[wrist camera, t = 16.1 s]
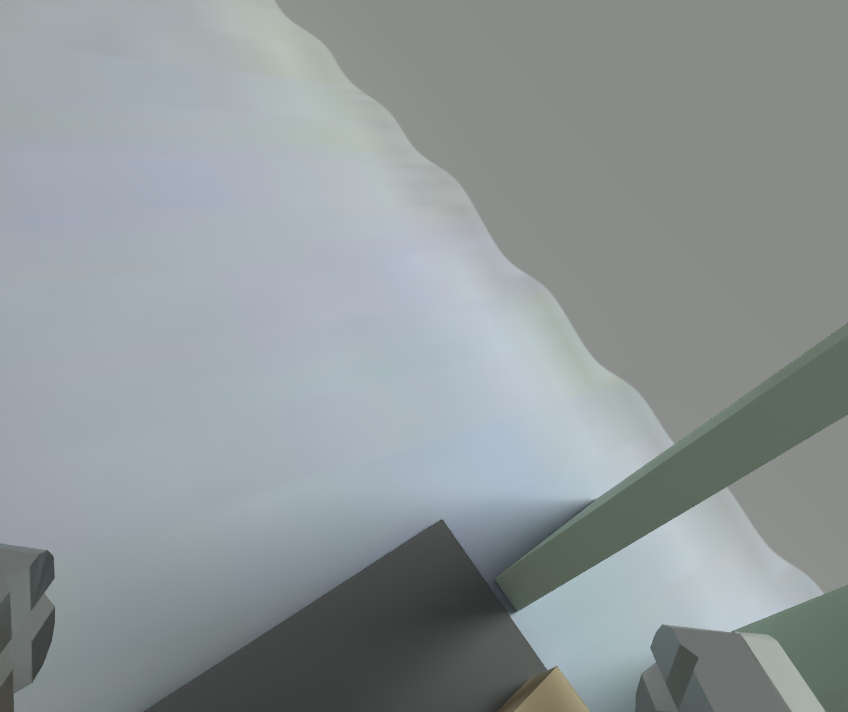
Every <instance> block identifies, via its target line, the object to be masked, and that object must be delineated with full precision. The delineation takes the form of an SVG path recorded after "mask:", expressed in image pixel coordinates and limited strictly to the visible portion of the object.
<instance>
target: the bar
mask: <svg viewBox="0 0 848 712" xmlns="http://www.w3.org/2000/svg"><path fill="white" fill-rule="evenodd" d="M497 712H590V711H589V709H588V708H587V706H586V705H585V704H584V702H583V701H582V700H581V698H580V697H579V695H578V694H577V693H576V691H575V690H574V688H573V687H572V686H571V684H570V683H569V682H568V680H567V679H566V677H565V676H564V675H563V673H562V672H561V671H560V669H559V668H558V666H557V667H554V668H552V669H550V670H548V671H546V672H544V673H541V674H539V675H537V676H535V677H533V678H530V679H528V680H527V681H526V682H525V683H524V684H523V685H522V686H521V688H520V689H519V690H518V691H517V692H516V693H515V694H514V695H513V696H512V697H511V698H510V699H509V700H508V701H507V702H506V703H505V704H504V705H503V706H502V707H501V708H500V709H499V710H498V711H497Z"/></svg>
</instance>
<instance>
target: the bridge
mask: <svg viewBox="0 0 848 712" xmlns="http://www.w3.org/2000/svg"><path fill="white" fill-rule="evenodd" d="M846 415H848V323H847V324H845V325H844V326H843V327H841V328H840V329H838V330H837V331H836V332H834V333H832V334H831V335H830V336H828V337H827V338H825V339H824V340H822V341H821V342H820V343H818V344H817V345H815V346H814V347H813V348H811V349H810V350H808V351H807V352H806V353H804V354H802V355H801V356H800V357H798V358H797V359H796V360H794V361H793V362H791V363H790V364H788V365H787V366H785V367H784V368H783V369H781V370H780V371H778V372H777V373H775V374H774V375H773V376H771V377H770V378H768V379H767V380H765V381H764V382H763V383H761V384H760V385H758V386H757V387H756V388H754V389H753V390H751V391H750V392H749V393H747V394H746V395H744V396H743V397H741V398H740V399H738V400H737V401H736V402H734V403H733V404H731V405H730V406H729V407H727V408H726V409H724V410H723V411H722V412H720V413H719V414H717V415H716V416H714V417H713V418H711V419H710V420H709V421H707V422H706V423H704V424H703V425H701V426H700V427H699V428H697V429H696V430H694V431H693V432H692V433H690V434H689V435H687V436H686V437H684V438H683V439H682V440H680V441H679V442H677V443H676V444H674V445H673V446H672V447H670V448H669V449H667V450H666V451H664V452H663V453H662V454H660V455H659V456H657V457H656V458H654V459H653V460H652V461H650V462H649V463H647V464H646V465H644V466H643V467H642V468H640V469H639V470H637V471H636V472H635V473H633V474H632V475H630V476H629V477H627V478H626V479H625V480H623V481H622V482H620V483H619V484H617V485H616V486H615V487H613V488H612V489H610V490H609V491H607V492H606V493H605V494H603V495H602V496H600V497H599V498H597V499H596V500H595V501H594V502H592V503H591V504H590V505H588V506H587V507H586V508H585V509H583V510H582V511H581V512H579V513H578V514H577V515H576V516H574V517H573V518H572V519H570V520H569V521H568V522H567V523H565V524H564V525H563V526H561V527H560V528H559V529H558V530H556V531H555V532H554V533H552V534H551V535H550V536H549V537H547V538H546V539H545V540H543V541H542V542H541V543H540V544H538V545H537V546H536V547H534V548H533V549H532V550H531V551H529V552H528V553H527V554H525V555H524V556H523V557H522V558H520V559H519V560H518V561H516V562H515V563H514V564H513V565H511V566H510V567H509V568H507V569H506V570H505V571H504V572H502V573H501V574H500V575H498V576H497V577H496V578H495V581H496V582H497V584H498V585H499V586H500V588H501V589H502V591H503V592H504V594H505V595H506V596H507V598H508V599H509V601H510V602H511V604H512V605H513V606H514V608H515V609H516V611H517V612H518V611H519V610H521V609H523V608H524V607H526V606H528V605H529V604H531V603H533V602H534V601H536V600H538V599H539V598H541V597H543V596H544V595H546V594H548V593H549V592H551V591H553V590H555V589H556V588H558V587H560V586H561V585H563V584H565V583H566V582H568V581H570V580H571V579H573V578H575V577H576V576H578V575H580V574H581V573H583V572H585V571H586V570H588V569H590V568H591V567H593V566H595V565H596V564H598V563H600V562H601V561H603V560H605V559H606V558H608V557H610V556H611V555H613V554H615V553H617V552H618V551H620V550H622V549H623V548H625V547H627V546H628V545H630V544H632V543H633V542H635V541H637V540H638V539H640V538H642V537H643V536H645V535H647V534H648V533H650V532H652V531H653V530H655V529H657V528H658V527H660V526H662V525H663V524H665V523H667V522H668V521H670V520H672V519H673V518H675V517H677V516H679V515H680V514H682V513H684V512H685V511H687V510H689V509H690V508H692V507H694V506H695V505H697V504H699V503H700V502H702V501H704V500H705V499H707V498H709V497H710V496H712V495H714V494H715V493H717V492H719V491H720V490H722V489H724V488H725V487H727V486H729V485H730V484H732V483H734V482H736V481H737V480H739V479H741V478H742V477H744V476H745V475H747V474H749V473H750V472H752V471H754V470H755V469H757V468H759V467H761V466H762V465H764V464H766V463H767V462H769V461H771V460H772V459H774V458H776V457H777V456H779V455H780V454H782V453H784V452H786V451H787V450H789V449H791V448H792V447H794V446H796V445H797V444H799V443H801V442H802V441H804V440H806V439H808V438H809V437H811V436H812V435H814V434H816V433H818V432H819V431H821V430H822V429H824V428H826V427H828V426H829V425H831V424H833V423H834V422H836V421H838V420H839V419H841V418H843V417H844V416H846ZM732 632H744V633H755V634H766V635H769V636H771V637H772V638H774V639H775V640H777V641H778V643H779V644H780V646H781V647H782V649H783V650H784V651H785V653H786V654H787V656H788V657H789V659H790V660H791V662H792V663H793V665H794V666H795V668H796V669H797V670H798V672H799V673H800V675H801V676H802V678H803V679H804V681H805V682H806V684H807V685H808V687H809V688H810V690H811V691H812V692H813V694H814V695H815V697H816V698H817V700H818V701H819V703H820V704H821V706H822V707H823V709H824V710H825V711H826V712H848V585H847V586H844V587H841V588H839V589H837V590H834V591H831V592H829V593H826V594H824V595H821V596H819V597H816V598H814V599H811V600H809V601H806V602H804V603H801V604H799V605H796V606H794V607H791V608H789V609H786V610H784V611H781V612H779V613H777V614H774V615H772V616H769V617H767V618H764V619H762V620H759V621H757V622H754V623H752V624H749V625H747V626H744V627H742V628H739V629H737V630H734V631H732ZM730 633H731V632H730Z"/></svg>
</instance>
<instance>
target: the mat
mask: <svg viewBox="0 0 848 712" xmlns="http://www.w3.org/2000/svg"><path fill="white" fill-rule="evenodd" d="M546 671H547V669H546V668H545V666H544V665H543V663H542V662H541V660H540V659H539V658H538V656H537V655H536V653H535V652H534V650H533V649H532V648H531V646H530V645H529V643H528V642H527V640H526V639H525V637H524V636H523V635H522V633H521V632H520V630H519V629H518V627H517V626H516V625H515V623H514V622H513V620H512V619H511V617H510V616H509V614H508V613H507V612H506V610H505V609H504V607H503V606H502V604H501V603H500V602H499V600H498V599H497V597H496V596H495V594H494V593H493V591H492V590H491V589H490V587H489V586H488V584H487V583H486V581H485V580H484V579H483V577H482V576H481V574H480V573H479V571H478V570H477V568H476V567H475V566H474V564H473V563H472V561H471V560H470V558H469V557H468V556H467V554H466V553H465V551H464V550H463V548H462V547H461V545H460V544H459V543H458V541H457V540H456V538H455V537H454V535H453V534H452V532H451V531H450V530H449V528H448V527H447V525H446V524H445V522H444V521H443V520H440V521H439V522H437V523H435V524H434V525H432V526H431V527H429V528H428V529H426V530H425V531H423V532H422V533H420V534H418V535H417V536H415V537H414V538H412V539H411V540H409V541H408V542H406V543H404V544H403V545H401V546H400V547H398V548H397V549H395V550H394V551H392V552H391V553H389V554H387V555H386V556H384V557H383V558H381V559H380V560H378V561H377V562H375V563H374V564H372V565H370V566H369V567H367V568H366V569H364V570H363V571H361V572H360V573H358V574H356V575H355V576H353V577H352V578H350V579H349V580H347V581H346V582H344V583H343V584H341V585H339V586H338V587H336V588H335V589H333V590H332V591H330V592H329V593H327V594H326V595H324V596H322V597H321V598H319V599H318V600H316V601H315V602H313V603H312V604H310V605H308V606H307V607H305V608H304V609H302V610H301V611H299V612H298V613H296V614H295V615H293V616H291V617H290V618H288V619H287V620H285V621H284V622H282V623H281V624H279V625H278V626H276V627H274V628H273V629H271V630H270V631H268V632H267V633H265V634H264V635H262V636H260V637H259V638H257V639H256V640H254V641H253V642H251V643H250V644H248V645H247V646H245V647H243V648H242V649H240V650H239V651H237V652H236V653H234V654H233V655H231V656H230V657H228V658H226V659H225V660H223V661H222V662H220V663H219V664H217V665H216V666H214V667H212V668H211V669H209V670H208V671H206V672H205V673H203V674H202V675H200V676H199V677H197V678H195V679H194V680H192V681H191V682H189V683H188V684H186V685H185V686H183V687H182V688H180V689H178V690H177V691H175V692H174V693H172V694H171V695H169V696H168V697H166V698H164V699H163V700H161V701H160V702H158V703H157V704H155V705H154V706H152V707H151V708H149V709H147V710H146V711H144V712H497V711H498V710H499V709H500V708H501V707H502V706H503V705H504V704H505V703H506V702H507V701H508V700H509V699H510V698H511V697H512V696H513V695H514V694H515V693H516V692H517V691H518V690H519V689H520V688H521V686H522V685H523V684H524V683H525V682H526V681H527V680H528V679H530V678H533V677H535V676H537V675H539V674H541V673H544V672H546Z"/></svg>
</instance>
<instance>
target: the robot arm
mask: <svg viewBox="0 0 848 712" xmlns="http://www.w3.org/2000/svg"><path fill="white" fill-rule="evenodd" d="M54 578H55V577H54V557H53V555H52V554H51V553H50V552H49V551H48V550H42V549H35V548H28V547H21V546H14V545H7V544H0V712H14V697H13V694H14V693H15V692H17V691H19V690H21V689H22V688H24V687H26V686H27V685H29V684H31V683H32V682H33V680H34V679H35V677H36V675H37V674H38V672H39V670H40V669H41V667H42V665H43V663H44V660H45V658H46V655H47V652H48V650H49V647H50V644H51V641H52V636H53V630H54V624H55V606H54V605H53V604H52V603H51V601H50V600H49V599H48V597H47V596H46V595H45V594H44V592H45V591H46V590H47V588H48V587H49V585H50V584H51V582H52V581H53V580H54ZM650 648H651V651H652V653H653V655H654V658H655V660H656V663H655V664H654V665H652V666H651V667H650V668H648V669H647V670H646V671H645V672H643V673H642V675H641V678H640V682H639V685H638V689H637V692H636V710H635V712H826V711H825V710H824V709H823V707H822V706H821V704H820V703H819V701H818V700H817V698H816V697H815V695H814V694H813V692H812V691H811V690H810V688H809V687H808V685H807V684H806V682H805V681H804V679H803V678H802V676H801V675H800V673H799V672H798V670H797V669H796V668H795V666H794V665H793V663H792V662H791V660H790V659H789V657H788V656H787V654H786V653H785V651H784V650H783V649H782V647H781V646H780V644H779V643H778V641H777V640H775V639H774V638H772V637H771V636H769V635H766V634H755V633H744V632H731V633H730V632H722V631H713V630H705V629H696V628H687V627H679V626H670V625H661V627H660V628H659V629H658V630H657V632H656V633H655V636H654V639H653V642H652V644H651V647H650Z"/></svg>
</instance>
